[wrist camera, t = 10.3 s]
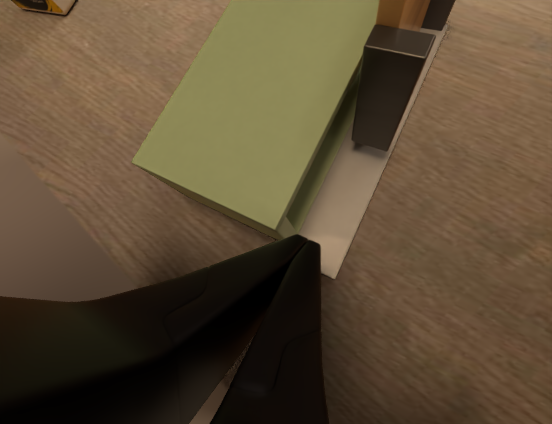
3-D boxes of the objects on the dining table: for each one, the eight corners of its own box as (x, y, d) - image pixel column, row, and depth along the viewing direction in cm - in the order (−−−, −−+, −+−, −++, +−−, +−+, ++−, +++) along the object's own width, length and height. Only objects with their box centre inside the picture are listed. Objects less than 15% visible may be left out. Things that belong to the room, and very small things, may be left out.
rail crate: (334, 279, 14) (336, 277, 9) (182, 204, 17) (123, 172, 12) (448, 24, 17) (495, -81, 12) (297, 0, 20) (286, -91, 15)
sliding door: (383, 161, 15) (439, 28, 7) (349, 149, 15) (366, 16, 8) (439, 35, 16) (536, -189, 8) (406, 30, 16) (468, -185, 9)
